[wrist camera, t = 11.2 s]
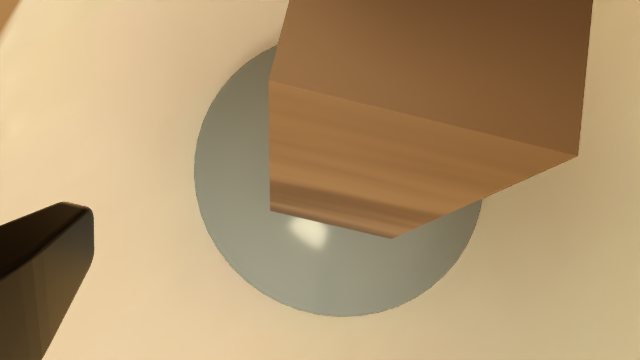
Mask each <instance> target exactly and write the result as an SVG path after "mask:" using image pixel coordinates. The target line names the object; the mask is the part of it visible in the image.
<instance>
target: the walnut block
mask: <svg viewBox="0 0 640 360" xmlns="http://www.w3.org/2000/svg"><path fill="white" fill-rule="evenodd" d="M592 4H593V0H290V1H289V5H288V8H287V12H286V16H285V20H284V24H283V27H282V31H281V35H280V39H279V43H278V46H277V50H276V54H275V58H274V61H273V65H272V69H271V73H270V77H269V167H270V211H273V212H277V213H281V214H286V215H290V216H294V217H299V218H303V219H307V220H311V221H316V222H320V223H324V224H329V225H333V226H337V227H342V228H346V229H350V230H354V231H359V232H363V233H367V234H372V235H376V236H380V237H385V238H389V239H393V238H395V237H397V236H399V235H402V234H404V233H406V232H408V231H410V230H413V229H415V228H417V227H419V226H422V225H424V224H426V223H428V222H431V221H433V220H435V219H437V218H440V217H442V216H444V215H446V214H449V213H451V212H453V211H455V210H458V209H460V208H462V207H464V206H467V205H469V204H471V203H473V202H476V201H478V200H480V199H482V198H485V197H487V196H489V195H491V194H494V193H496V192H498V191H500V190H503V189H505V188H507V187H509V186H512V185H514V184H516V183H518V182H520V181H523V180H525V179H527V178H529V177H532V176H534V175H536V174H538V173H541V172H543V171H545V170H547V169H550V168H552V167H554V166H556V165H559V164H561V163H563V162H565V161H568V160H570V159H572V158H574V157H577V156H578V150H579V139H580V129H581V118H582V108H583V98H584V87H585V77H586V66H587V56H588V46H589V35H590V25H591V14H592Z"/></svg>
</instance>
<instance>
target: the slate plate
mask: <svg viewBox="0 0 640 360" xmlns="http://www.w3.org/2000/svg"><path fill="white" fill-rule="evenodd" d="M277 46H278V45H276V46H274V47H272V48H270V49H268V50H266V51H265V52H263V53H261V54H259V55H258V56H256V57H255V58H253V59H252V60H250V61H249V62H248V63H246V64H245V65H244V66H243V67H242V68H240V69H239V70H238V71H237V72H236V73H235V74H234V75H233V76H232V77H231V78H230V79H229V80H228V82H227V83H226V84H225V85H224V86H223V87H222V89H221V90H220V91H219V93H218V95H217V96H216V98H215V99H214V101H213V102H212V104H211V106H210V108H209V110H208V112H207V114H206V116H205V119H204V121H203V124H202V127H201V130H200V133H199V137H198V140H197V147H196V153H195V165H194V179H195V188H196V196H197V200H198V204H199V208H200V212H201V215H202V218H203V220H204V223H205V225H206V228H207V230H208V233H209V234H210V236H211V238H212V240H213V241H214V243H215V245H216V247H217V248H218V250H219V251H220V253H221V254H222V255H223V257H224V258H225V259H226V260H227V262H228V263H229V264H230V266H231V267H232V268H233V269H234V270H235V271H236V272H237V273H238V274H239V275H240V276H241V277H242V278H244V279H245V280H246V281H247V282H248V283H250V284H251V285H252V286H254V287H255V288H256V289H258V290H259V291H260V292H262V293H263V294H265V295H267V296H269V297H271V298H272V299H274V300H276V301H278V302H280V303H282V304H285V305H287V306H290V307H292V308H295V309H297V310H301V311H305V312H309V313H313V314H317V315H326V316H336V317H348V316H362V315H368V314H374V313H379V312H382V311H385V310H388V309H391V308H394V307H398V306H400V305H402V304H404V303H406V302H408V301H410V300H412V299H414V298H416V297H417V296H419V295H420V294H422V293H423V292H425V291H426V290H428V289H429V288H431V287H432V286H433V285H434V284H435V283H436V282H437V281H439V280H440V279H441V278H442V277H443V276H444V275H445V274H446V273H447V272H448V271H449V269H450V268H451V267H452V266H453V265H454V264H455V262H456V261H457V260H458V258H459V257H460V255H461V254H462V252H463V250H464V249H465V247H466V246H467V244H468V242H469V239H470V237H471V235H472V233H473V231H474V228H475V225H476V222H477V219H478V215H479V212H480V207H481V201H482V199H480V200H478V201H476V202H473V203H471V204H469V205H467V206H464V207H462V208H460V209H458V210H455V211H453V212H451V213H449V214H446V215H444V216H442V217H440V218H437V219H435V220H433V221H431V222H428V223H426V224H424V225H422V226H419V227H417V228H415V229H413V230H410V231H408V232H406V233H404V234H402V235H399V236H397V237H395V238H393V239H389V238H385V237H380V236H376V235H372V234H367V233H363V232H359V231H354V230H350V229H346V228H342V227H337V226H333V225H329V224H324V223H320V222H316V221H311V220H307V219H303V218H299V217H294V216H290V215H286V214H281V213H277V212H273V211H270V167H269V77H270V73H271V69H272V65H273V61H274V58H275V54H276V50H277Z"/></svg>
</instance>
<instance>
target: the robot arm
mask: <svg viewBox="0 0 640 360" xmlns="http://www.w3.org/2000/svg"><path fill="white" fill-rule="evenodd" d="M93 256H94V217H93V212H92V210H91V209H90V208H89V207H86V206H82V205H78V204H73V203H69V202H60V203H56V204H54V205H51V206H49V207H46V208H44V209H41V210H39V211H36V212H34V213H31V214H28V215H26V216H23V217H21V218H18V219H16V220H13V221H11V222H8V223H6V224H3V225H1V226H0V360H42V358H43V357H44V355H45V353H46V351H47V349H48V347H49V346H50V344H51V342H52V340H53V338H54V336H55V334H56V332H57V330H58V328H59V326H60V324H61V322H62V320H63V318H64V316H65V314H66V313H67V311H68V309H69V307H70V305H71V303H72V301H73V299H74V297H75V295H76V293H77V291H78V289H79V287H80V285H81V283H82V281H83V279H84V277H85V275H86V274H87V272H88V270H89V268H90V265H91V263H92V260H93Z"/></svg>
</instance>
